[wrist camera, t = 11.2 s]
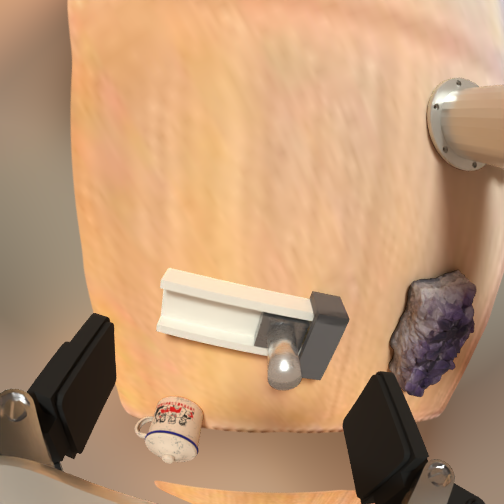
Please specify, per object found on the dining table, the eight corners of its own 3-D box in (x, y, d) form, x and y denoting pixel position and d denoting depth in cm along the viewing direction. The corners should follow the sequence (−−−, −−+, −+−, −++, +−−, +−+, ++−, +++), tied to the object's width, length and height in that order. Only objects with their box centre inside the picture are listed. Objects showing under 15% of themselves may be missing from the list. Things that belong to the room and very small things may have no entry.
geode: (431, 368, 46) (445, 409, 37) (374, 366, 48) (381, 410, 39) (474, 268, 38) (505, 302, 29) (411, 258, 39) (435, 295, 30)
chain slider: (335, 321, 40) (352, 371, 31) (323, 348, 42) (335, 399, 32) (263, 307, 39) (262, 358, 30) (254, 336, 41) (252, 389, 32)
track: (346, 298, 41) (356, 320, 36) (321, 355, 44) (326, 380, 39) (169, 259, 39) (157, 278, 34) (162, 323, 43) (151, 346, 38)
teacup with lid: (200, 395, 49) (189, 449, 38) (208, 425, 52) (200, 475, 41) (136, 391, 49) (116, 439, 38) (149, 421, 52) (134, 467, 42)
